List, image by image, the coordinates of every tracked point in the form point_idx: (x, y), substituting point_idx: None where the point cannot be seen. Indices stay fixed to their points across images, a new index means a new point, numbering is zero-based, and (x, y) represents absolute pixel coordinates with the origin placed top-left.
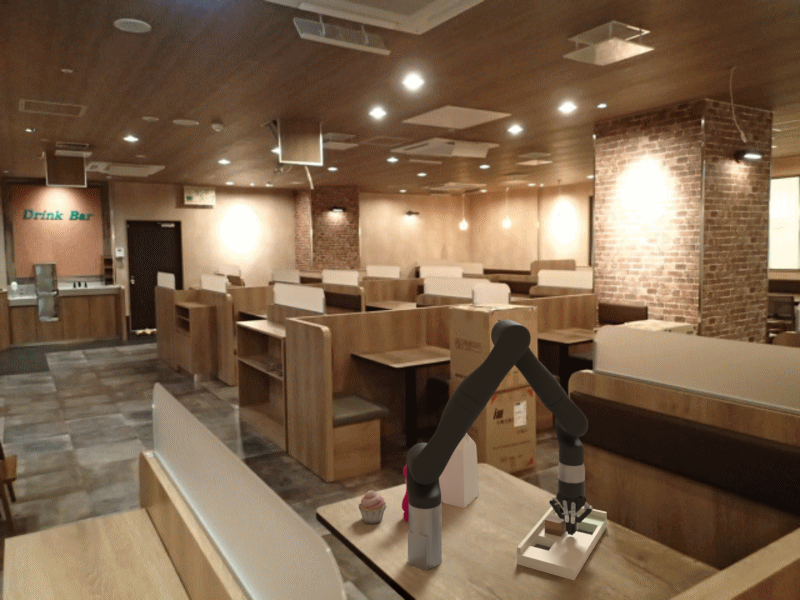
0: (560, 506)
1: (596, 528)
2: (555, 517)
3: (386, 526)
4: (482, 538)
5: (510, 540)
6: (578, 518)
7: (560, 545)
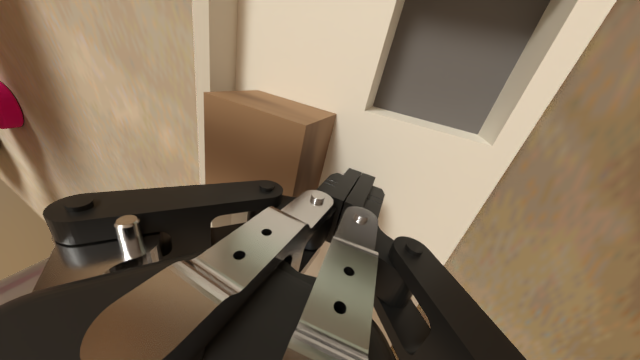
0: (199, 211)
1: (568, 22)
2: (243, 150)
3: (15, 152)
4: (138, 165)
5: (190, 162)
6: (379, 316)
7: (320, 255)
